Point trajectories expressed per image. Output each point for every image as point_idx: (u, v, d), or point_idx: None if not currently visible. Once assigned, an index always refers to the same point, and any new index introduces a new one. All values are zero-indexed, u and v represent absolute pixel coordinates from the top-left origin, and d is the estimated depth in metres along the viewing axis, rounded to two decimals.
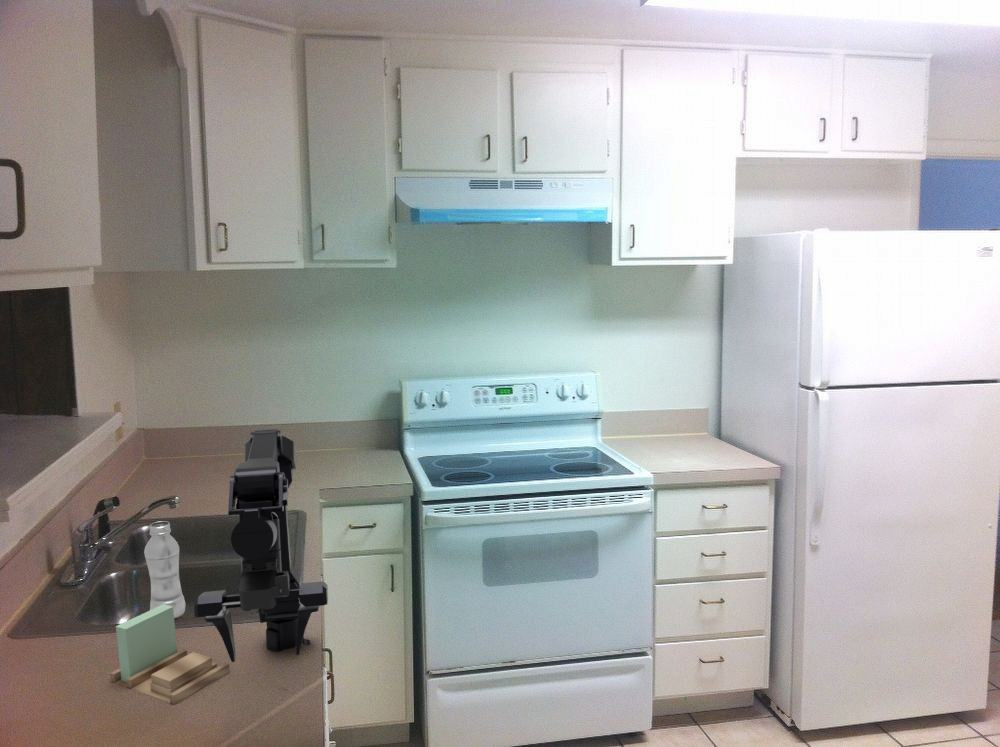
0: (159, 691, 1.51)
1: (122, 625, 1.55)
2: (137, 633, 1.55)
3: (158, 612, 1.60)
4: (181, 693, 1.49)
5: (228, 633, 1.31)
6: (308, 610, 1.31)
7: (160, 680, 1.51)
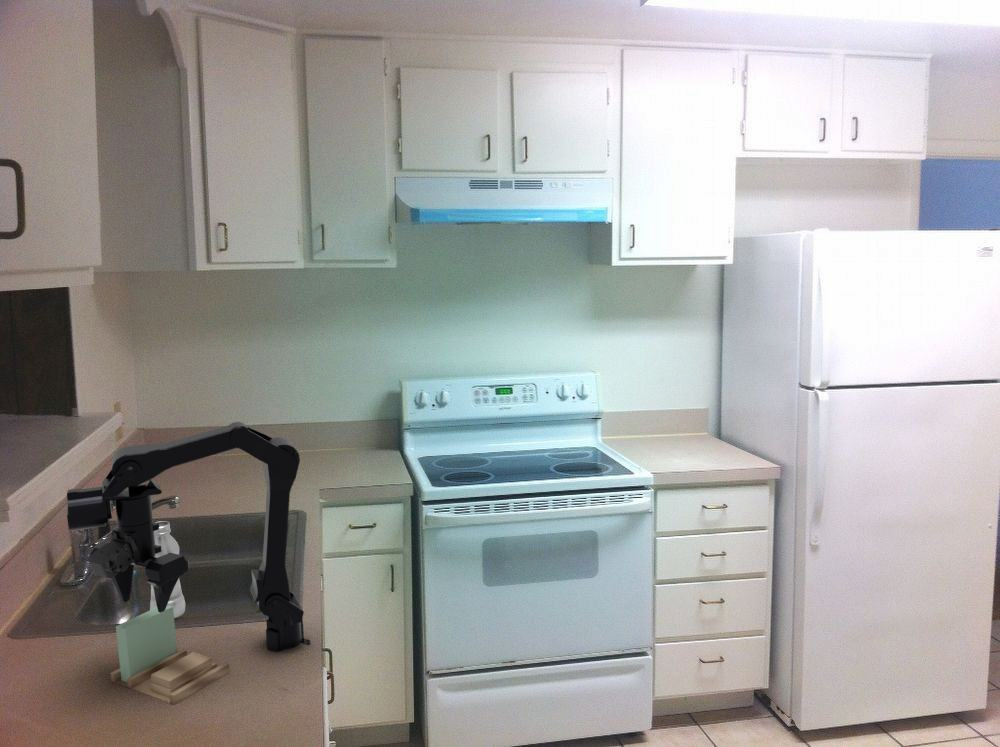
0: (159, 691, 1.51)
1: (122, 625, 1.55)
2: (137, 633, 1.55)
3: (158, 612, 1.60)
4: (181, 693, 1.49)
5: (116, 580, 1.58)
6: (152, 582, 1.50)
7: (160, 680, 1.51)
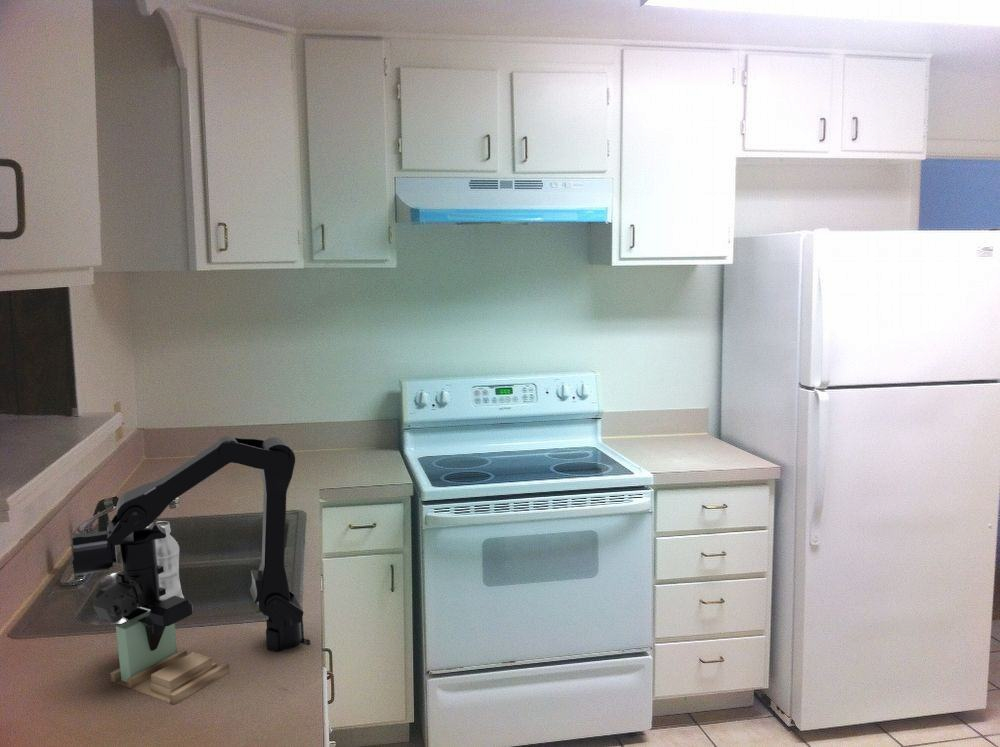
0: (159, 691, 1.51)
1: (122, 625, 1.55)
2: (137, 633, 1.55)
3: None
4: (181, 693, 1.49)
5: None
6: (143, 622, 1.54)
7: (160, 680, 1.51)
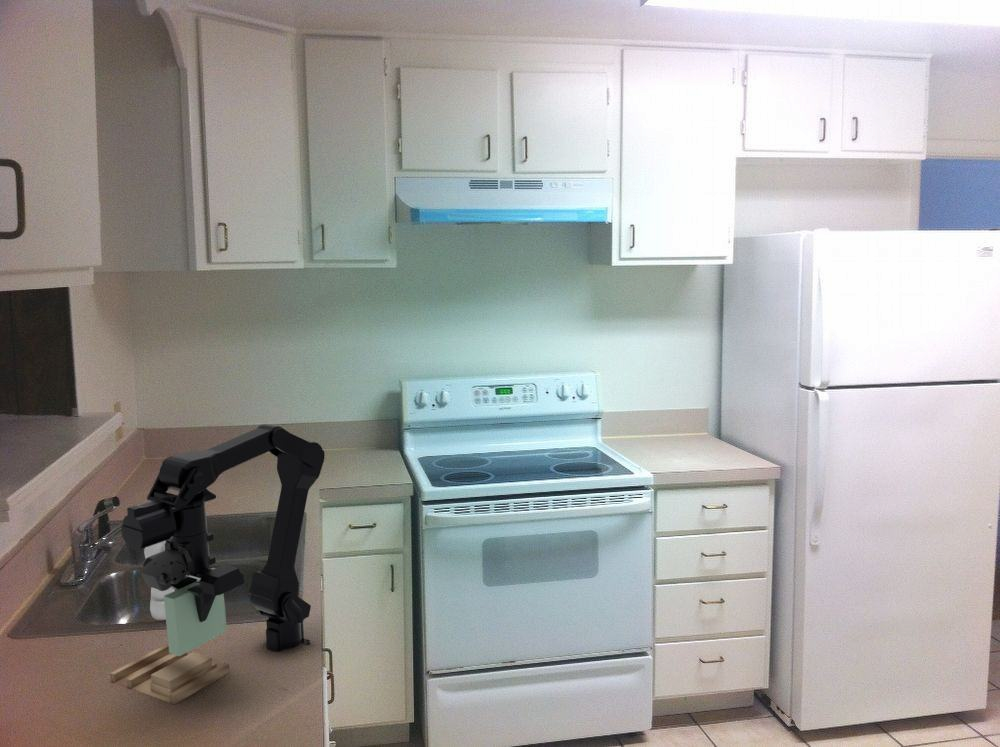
0: (159, 691, 1.51)
1: (170, 595, 1.48)
2: (185, 603, 1.48)
3: None
4: (181, 693, 1.49)
5: None
6: (193, 591, 1.47)
7: (160, 680, 1.51)
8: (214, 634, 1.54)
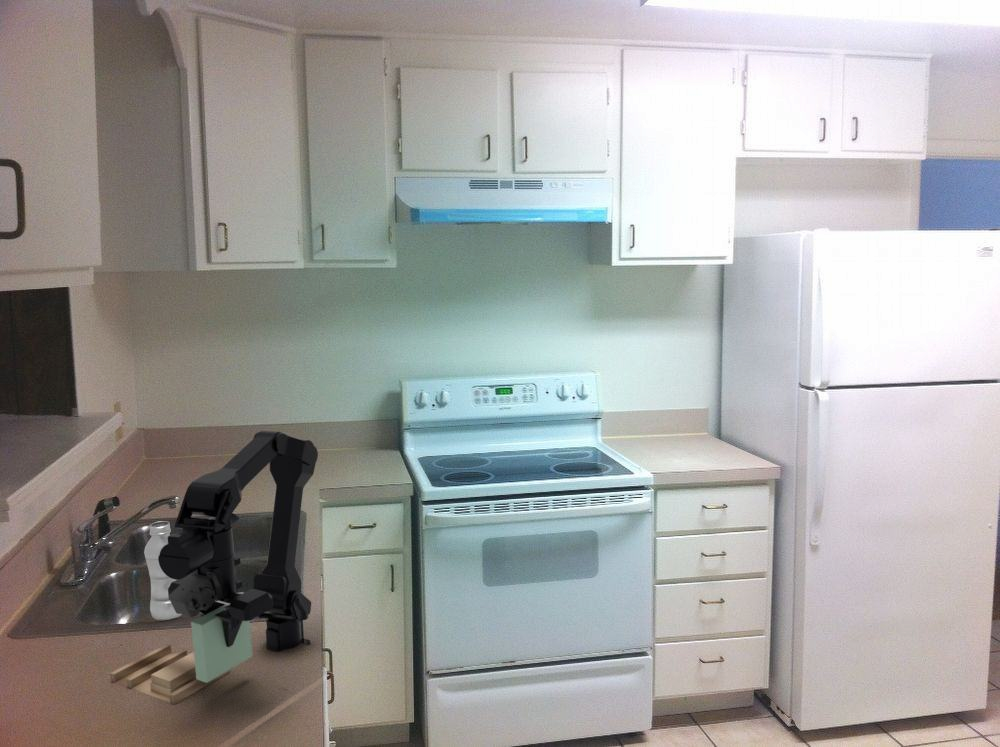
0: (159, 691, 1.51)
1: (197, 621, 1.46)
2: (213, 629, 1.46)
3: None
4: (181, 693, 1.49)
5: None
6: (221, 617, 1.45)
7: (160, 680, 1.51)
8: (240, 659, 1.52)
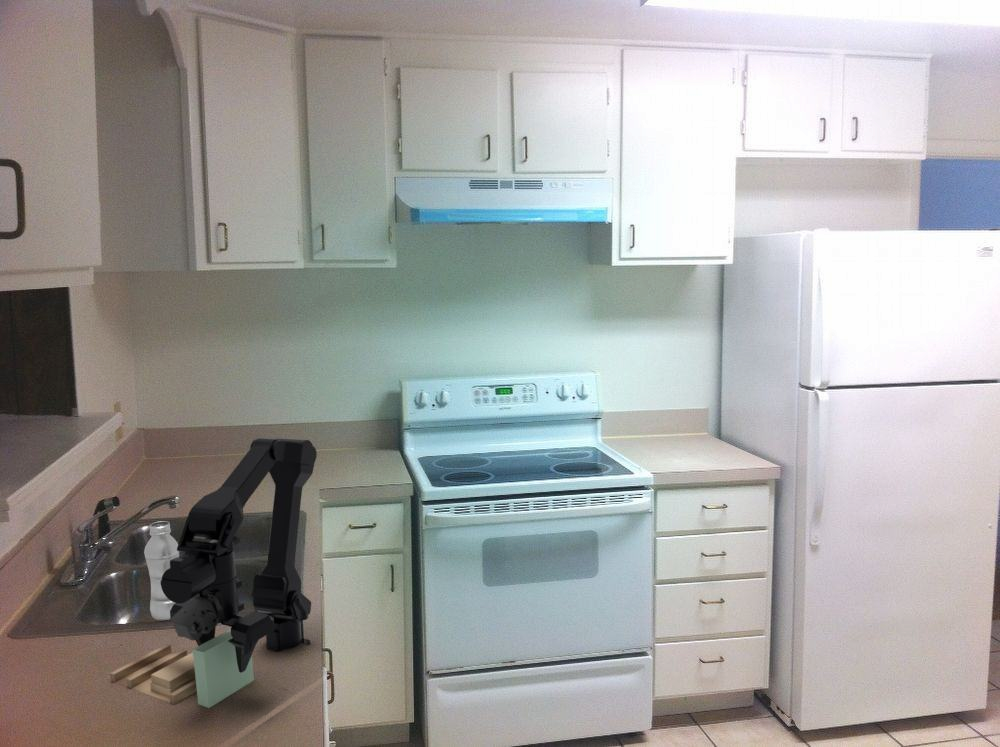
0: (159, 691, 1.51)
1: (199, 648, 1.47)
2: (214, 656, 1.47)
3: None
4: (181, 693, 1.49)
5: (199, 639, 1.51)
6: (234, 643, 1.44)
7: (160, 680, 1.51)
8: (242, 685, 1.53)
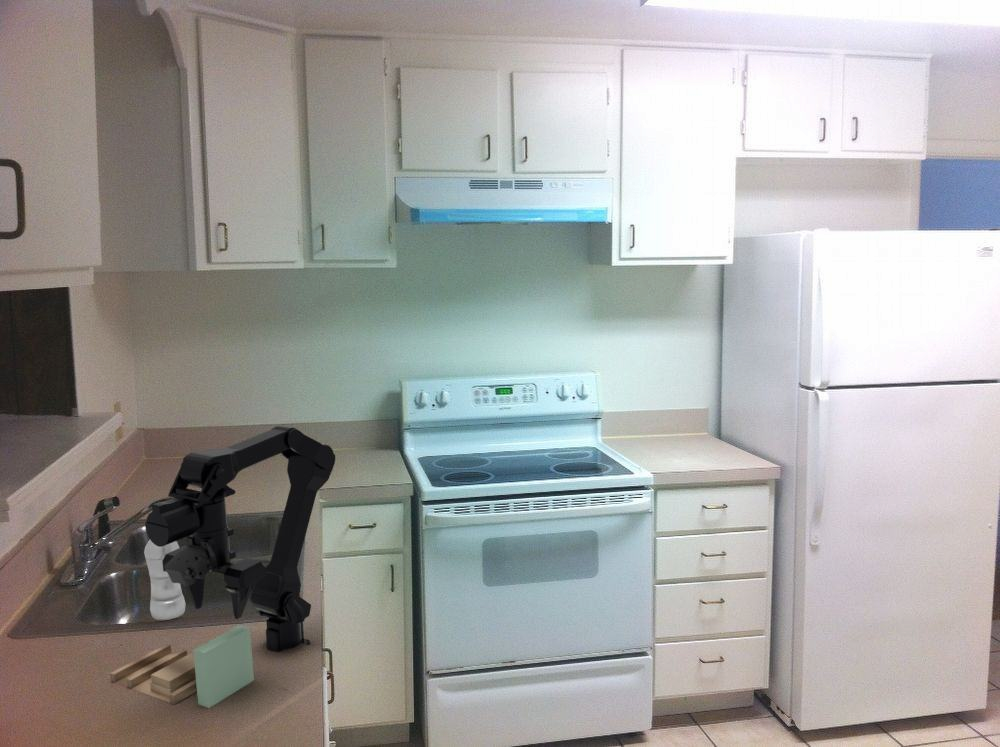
0: (159, 691, 1.51)
1: (200, 648, 1.46)
2: (215, 656, 1.47)
3: (235, 634, 1.51)
4: (181, 693, 1.49)
5: (189, 587, 1.55)
6: (231, 589, 1.48)
7: (160, 680, 1.51)
8: (242, 685, 1.53)
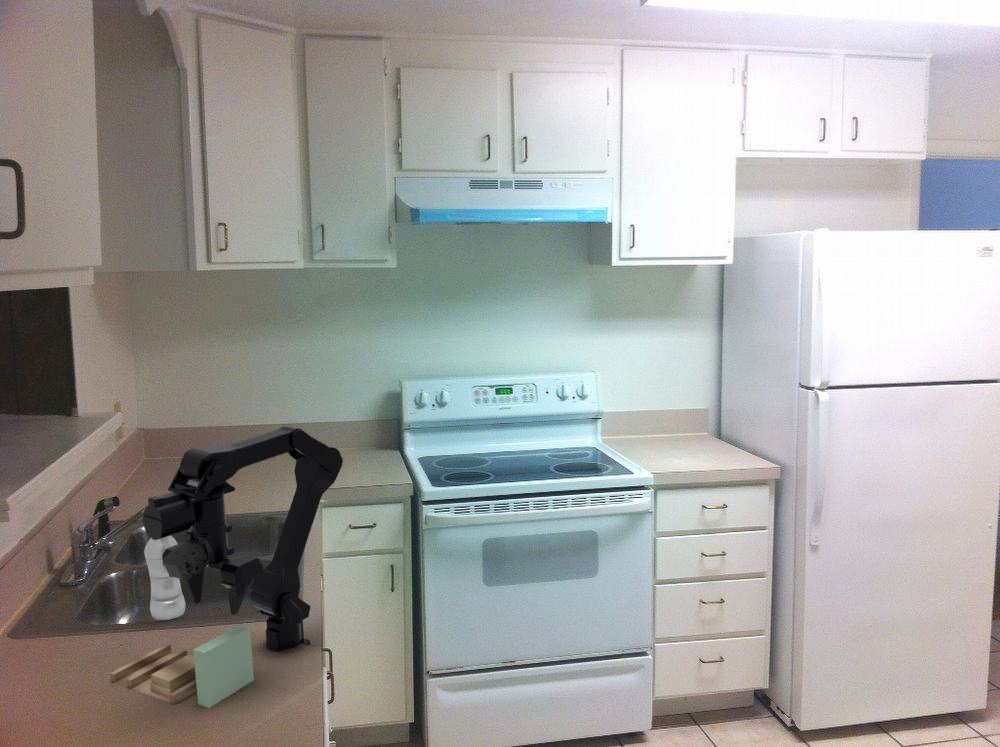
0: (159, 691, 1.51)
1: (200, 648, 1.46)
2: (215, 656, 1.47)
3: (235, 634, 1.51)
4: (181, 693, 1.49)
5: (187, 582, 1.56)
6: (227, 584, 1.49)
7: (160, 680, 1.51)
8: (242, 685, 1.53)
